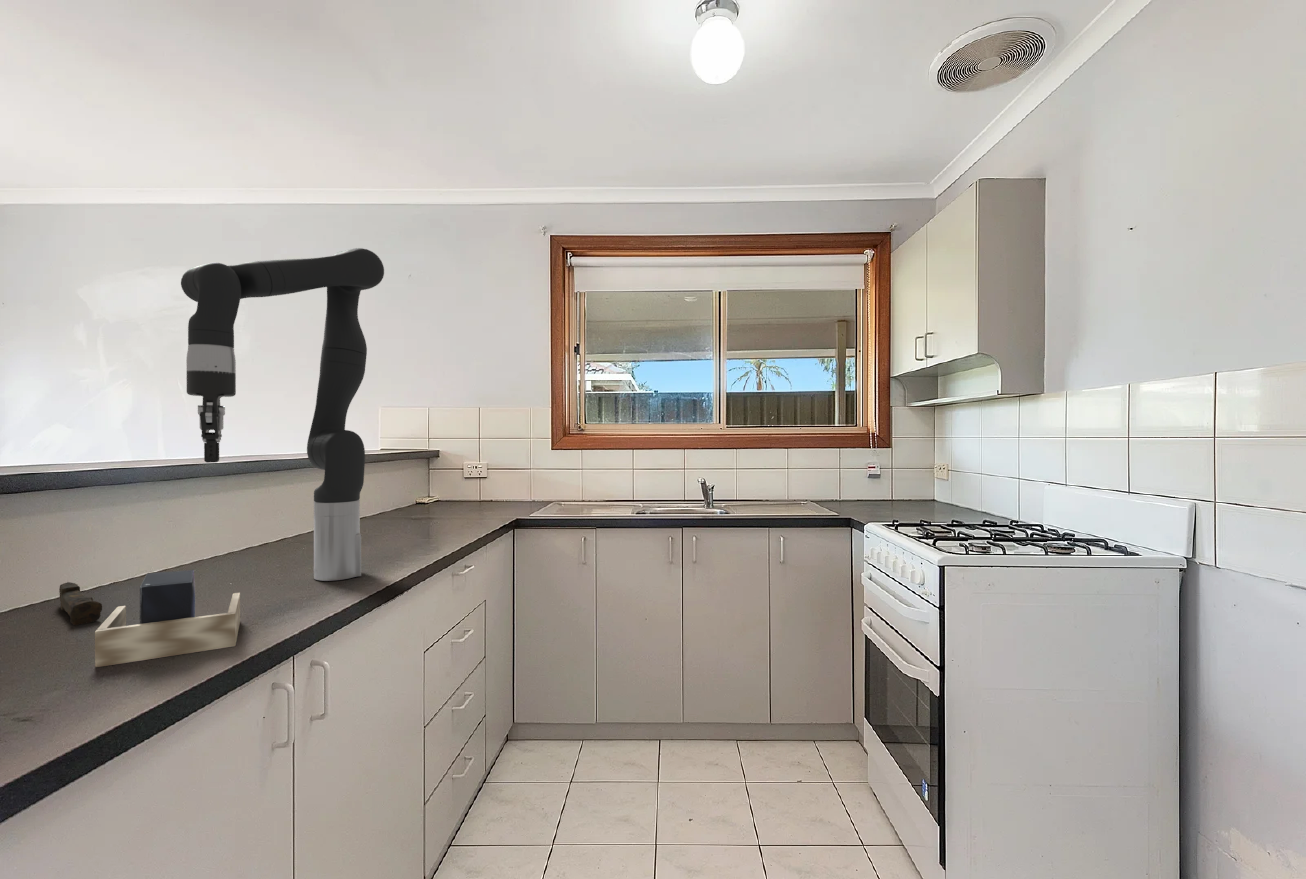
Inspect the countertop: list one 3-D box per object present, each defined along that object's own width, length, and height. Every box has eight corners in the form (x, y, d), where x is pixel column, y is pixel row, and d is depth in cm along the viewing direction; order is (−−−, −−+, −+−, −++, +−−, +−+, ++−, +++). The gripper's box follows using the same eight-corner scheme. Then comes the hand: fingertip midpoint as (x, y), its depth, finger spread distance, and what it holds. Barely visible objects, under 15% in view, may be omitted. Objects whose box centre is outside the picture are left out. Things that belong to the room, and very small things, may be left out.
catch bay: (240, 621, 104) (240, 592, 104) (235, 645, 92) (235, 613, 92) (117, 637, 95) (117, 606, 95) (95, 667, 83) (95, 631, 83)
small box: (194, 649, 90) (194, 580, 90) (137, 659, 86) (137, 587, 86) (196, 631, 99) (195, 567, 99) (144, 638, 95) (143, 572, 95)
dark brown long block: (102, 622, 104) (102, 595, 104) (70, 627, 101) (70, 600, 101) (85, 602, 116) (85, 578, 116) (55, 606, 113) (56, 582, 113)
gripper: (233, 369, 110) (233, 463, 110) (237, 374, 121) (237, 460, 121) (181, 366, 106) (182, 464, 106) (190, 372, 117) (191, 461, 117)
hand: (211, 462), depth 114 cm, fingers closed
